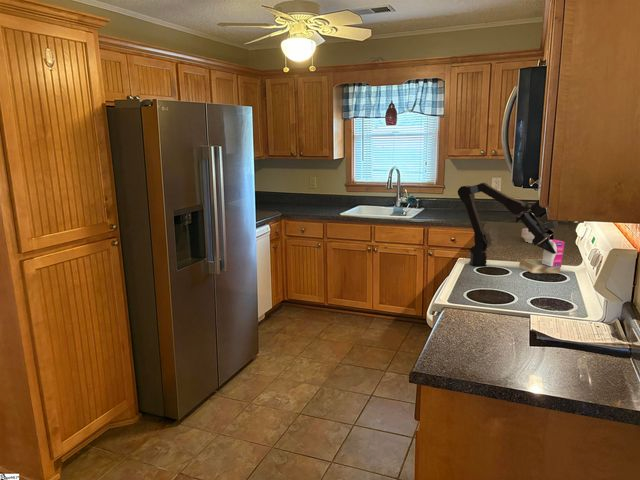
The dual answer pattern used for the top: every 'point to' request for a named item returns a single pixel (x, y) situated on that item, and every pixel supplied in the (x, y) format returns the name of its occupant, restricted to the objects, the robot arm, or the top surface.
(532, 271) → the block
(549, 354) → the top surface
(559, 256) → the supplement box
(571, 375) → the top surface
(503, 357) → the top surface
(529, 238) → the paper bowls
